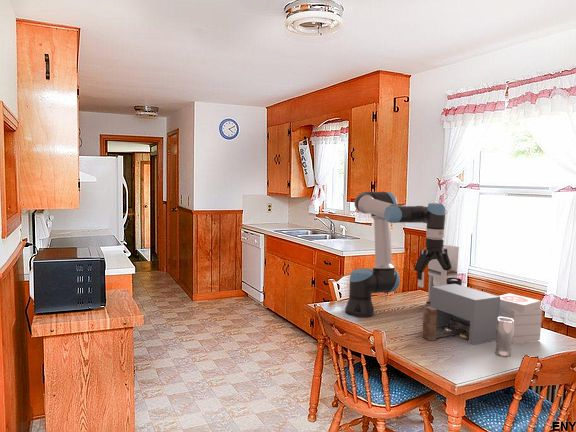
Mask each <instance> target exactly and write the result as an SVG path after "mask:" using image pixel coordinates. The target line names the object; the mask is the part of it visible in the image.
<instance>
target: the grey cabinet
mask: <svg viewBox="0 0 576 432" xmlns="http://www.w3.org/2000/svg"><path fill="white" fill-rule="evenodd" d="M499 296H500V295H495V294H492V293H489V292H485V291H481V290H478V289H475V288H472V287H469V286H468V287H467V286H463V285H462V286H461V285H458V284H449V285H440V286H431V303H430V307H432V308H435V309H437V319H436V328H440V327H446V326H450V319H453V320H455V321H458V322H461V323H463V324H466V325H469V326H470V331H469V339H468V344H470V345H472V346H474V345H477V344H479V345H480V344H482V343H487V342H489V343H490V342H493V341H496V332H495V328H496V321H497V318H498V317H499V308H500V297H499Z"/></svg>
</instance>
